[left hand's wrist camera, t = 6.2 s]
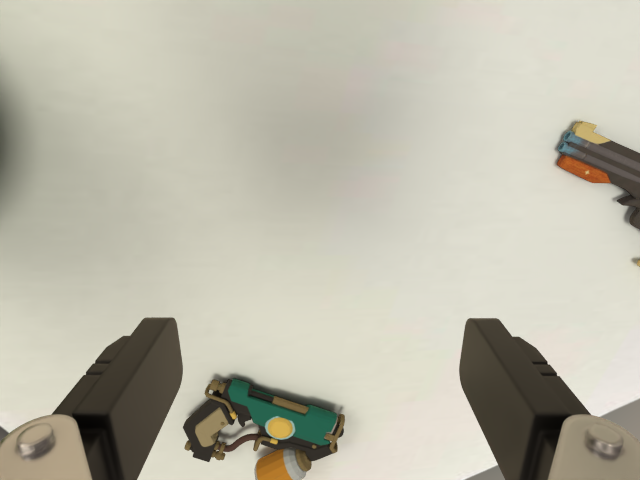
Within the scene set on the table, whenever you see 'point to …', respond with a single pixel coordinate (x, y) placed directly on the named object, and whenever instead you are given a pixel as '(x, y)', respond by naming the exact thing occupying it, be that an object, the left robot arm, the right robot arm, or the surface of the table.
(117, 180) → the table surface
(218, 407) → the spray gun
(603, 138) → the toy gun
